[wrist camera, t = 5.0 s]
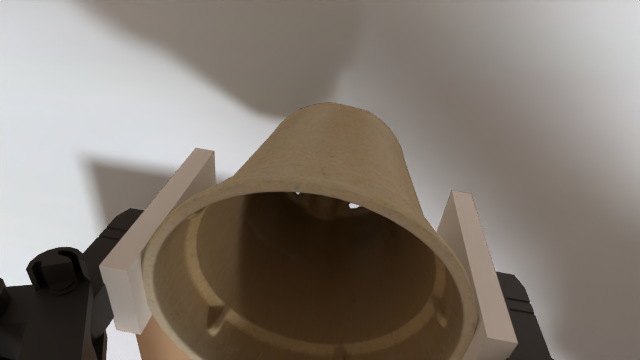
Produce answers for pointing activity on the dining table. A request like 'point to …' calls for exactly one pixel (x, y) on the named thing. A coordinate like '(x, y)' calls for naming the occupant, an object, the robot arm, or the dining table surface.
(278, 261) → the flower pot
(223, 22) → the dining table surface
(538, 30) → the dining table surface
